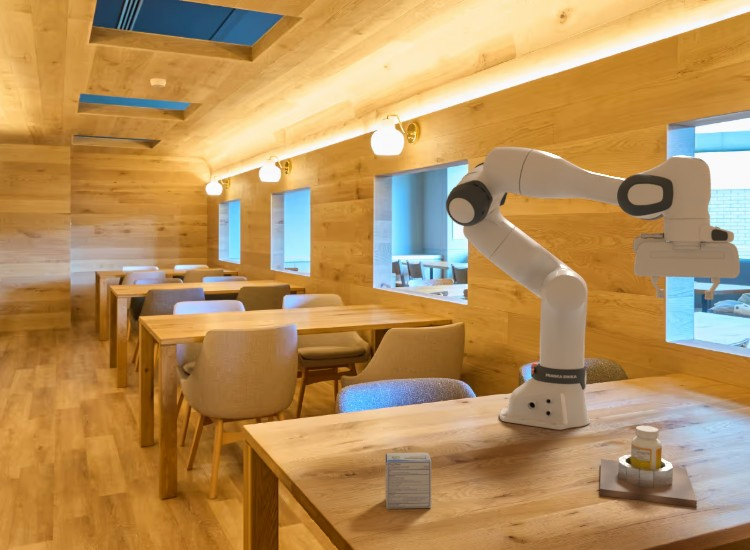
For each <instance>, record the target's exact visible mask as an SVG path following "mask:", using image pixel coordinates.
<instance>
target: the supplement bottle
mask: <svg viewBox="0 0 750 550" xmlns="http://www.w3.org/2000/svg"><path fill="white" fill-rule="evenodd" d="M658 437H659V429H658V428H657V427H654V426H651V425H638V426H636V427H635V436H634V437H633V438H632V440H631V449H630V451H631V453H630V455H631V466H635V467H638V468H644V469H661V458H662V450H663V448H662V446H663V445H662V442H661V440H660V439H658Z"/></svg>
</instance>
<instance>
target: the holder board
mask: <svg viewBox="0 0 750 550" xmlns="http://www.w3.org/2000/svg"><path fill="white" fill-rule="evenodd" d="M687 470H688V469H687V467H679V466H678V467H677V466H673V464H672V462H669V461H668V460H666V459H664V458H663V457H661V469H644V468H638V467H635V466H631V454H625V455H622V456H619V457H618V460H613V459H612V460H611V459H604V458H603V459H602V458H600V481H599V484H600V485H599V495H600V496H603V497H612V498H621V499H626V500H627V499H628V500H634V501H635V500H637V501H643V502H651V503H660V504H669V505H677V506H683V507H684V506H685V507H693V508H698V507H697V505H698V500H697V497H696V494H695V491H694V488H693V486H692V483H691V479H690V476H689V474H688V471H687Z"/></svg>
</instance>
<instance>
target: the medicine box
mask: <svg viewBox="0 0 750 550" xmlns="http://www.w3.org/2000/svg"><path fill="white" fill-rule="evenodd" d="M432 463H433V462H432V460H431V456H430V453H428V452H387V453H385V506H386V508H385V509H387V510H392V509H393V510H394V509H396V510H397V509H431V508H432V469H433V468H432Z"/></svg>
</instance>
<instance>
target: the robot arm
mask: <svg viewBox="0 0 750 550" xmlns="http://www.w3.org/2000/svg"><path fill="white" fill-rule="evenodd" d="M711 182H712V180H711V171H710V166H709V164H708V163H707V162H706V161H704V159H701V158H698V157H696V156H690V155H689V156H687V155H673V156H670V157H669V158H668V159H666V160H665V161H664V162H662V163H660V164H658V165H656V166H655V167H652V168H650V169H647V170H644V171H641V172H638V173H635V174H632V175H630V176H628V177H627V178H621V177H615V176H609V175H607V174H601V173H596V172H592V171H589V170H586V169H584V168H582V167H580V166H578V165H576V164H574V163H573V162H570V161H568V160H566V159H565V158H562V157H561V156H559V155H556V154H553V153H550V152H548V151H544V150H541V149H534V148H529V147H519V146H518V147H517V146H499V147H497V146H496V147H494V148H493V149H491V150H490V151H489V152H488V153H487V155H486V157H485V158H484V160H483V161H482V162H481V163H479V164H477V165H475V167H474V168H472V169H471V170H469V172H467V173H466V174H465V175H464V176H463V177H462V178H461V180H460V181H459V182H458V183H457V184H456V185H455V186H454V187H453V188H452V189H451V191H450V192H449V194H448V196H447V198H446V202H445V209H446V212H447V215H448V216H449V218H450V219H451V220H452V221H453V222H454V223H456V224H457V225H459V226H462V227H463V228H462V231H463V232H462V233H463V235H464V237H465V238H466V239H467V241H468V242H469V243H470V244H471V246H473V247H474V248H475V249H476V250H477V251H478V252H479V253H480V254H481V255H482V256H484V257H485V258H486V260H488V261H490V262H491V263H492V264H493V265H495V266H496V267H497V268H499V269H500V270H501V271H502V272H503V273H505V275H507V276H509V277H510V278H511V279H512V280H513V281H515V282H517V283H518V284H519V285H521V286H523V287H524V288H526V289H527V290H528V291H529V292H531V293H532V294H534V295H535V296H537V297H538V298H539V299H540V321H539V323H540V327H539V363H538V362H537V361H536V362H532V364H531V365H530V376H531V378H529V379H528V380H527V381H525V382H524V383H522V384H521V385H519V386H518V387H516V388H515V389H514V390H513V391H512V392H511V395H510V397H509V400H508V405H507V406H505V407H503V408H501V410H500V412H499V419H500V420H501V421H503V422H504V423H505V422H506V423H511V424H517V425H524V426H532V427H537V428H543V429H544V428H545V429H550V430H551V429H552V430H557V431H558V430H561V431H562V430H566V429H570V428H579V427H583V426H587V425H589V424H590V422H591V420H590V416H589V414H588V409H587V408H588V407H587V401H586V392H585V391H586V387H587V367H586V366H585V352H586V351H585V350H586V349H585V344H586V327H587V316H588V313H587V312H588V299H589V298H588V297H589V289H588V284H587V282H586V280H585V279H584V278H583V277H582V276H581V275H580V274H579V273H578V272H576V271H575V270H574V269H572V268H571V267H570V266H569V265H567V264H566V263H564V262H563V261H562V260H561V259H559V258H557V256H555V255H554V254H553V253H551V252H550V251H549V250H547V249H546V247H545V248H544V246H542V245H541V244H540V243H538V242H537V241H536V240H535V239H533V238H532V237H531V236H529V235H528V234H527V233H525V232H524V231H523V230H521V229H520V228H519V227H518V226H516V225H515V224H513V223H512V222H510V221H509V220H508V219H507V218H506V217H505V216H503V214H502V212H501V208H500V207H502V206H503V205H505V203H506V199H507V196H508V194H509V193H510V194H515V195H519V196H522V197H526V198H532V199H533V198H534V199H547V200H548V199H549V200H551V199H554V200H555V199H556V200H557V199H584V200H590V201H595V202H600V203H605V204H609V205H613V206H618V207H619V208H620V209H621V210H622V211H623V212H625V214H627V215H629V216H631V217H634V218H638V219H640V220H643V221H656V220H658V219H662V218H663V233H662V232H661V233H660V232H657V233H656V232H655V233H646V232H644V233H641V234H639V235H637V236H635V237H634V238H633V241H632V250H633V253H635V257H634V266H633V273H634V274H635V275H636V276H637V277H650V282H651V283H652V285H653V287H654V289H655V290H656V291H655V294H656V295H655V297H656V299H665V289H662V288H660V287H659V285H658V282H659V281H660V279H659V278H660V277H661V278H664V277H667V278H671V277H672V278H706V279H707V278H709V279H710V282H711V283H712V285H711V286H710V288H709V289H708V290H704V294H705V295H704V300H708V301H710V300H711V301H713V300H714V295H715V293H714V292H715V291H716V289H717V288H718V287H719V285H720V284H721V279H736V278H737V277H738V276H739V275H740V273H741V272H740V271H741V270H740V269H741V267H740V265H741V263H740V256H739V250H738V247H737V245H735V244H734V243H732V242H733V241H734V240H735V233H734V232H733V231H730V230H727V229H723V228H721V227H719V226H713V225H711V216H710V212H709V206H710V205H709V204H710V201H711V197H712V183H711Z"/></svg>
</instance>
